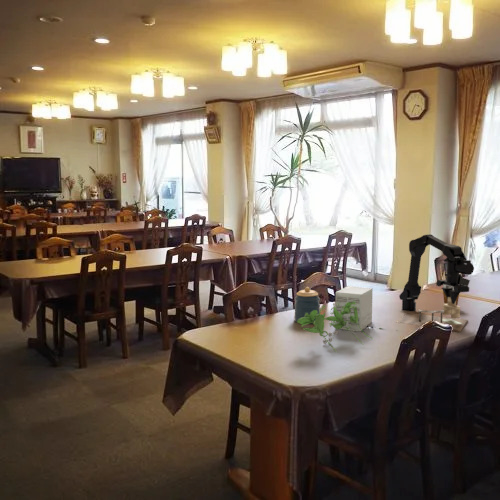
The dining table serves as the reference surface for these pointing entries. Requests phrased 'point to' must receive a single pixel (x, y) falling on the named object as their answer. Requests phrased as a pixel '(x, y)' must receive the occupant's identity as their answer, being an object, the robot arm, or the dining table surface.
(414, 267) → the robot arm
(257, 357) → the dining table surface
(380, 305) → the dining table surface
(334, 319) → the plant cuttings
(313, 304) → the canister
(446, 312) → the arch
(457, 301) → the disposable coffee cup
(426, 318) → the wire board
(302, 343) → the dining table surface
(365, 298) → the supplement box
